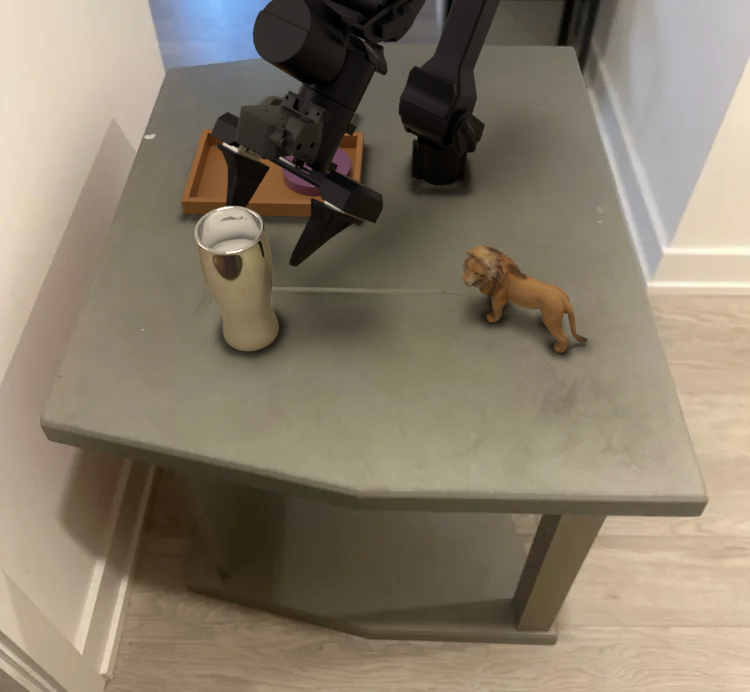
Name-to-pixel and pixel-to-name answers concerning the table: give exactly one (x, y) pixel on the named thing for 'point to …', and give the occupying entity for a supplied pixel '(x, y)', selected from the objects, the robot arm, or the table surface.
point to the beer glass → (239, 274)
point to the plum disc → (303, 186)
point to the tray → (271, 195)
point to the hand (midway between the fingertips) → (259, 244)
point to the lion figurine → (518, 291)
